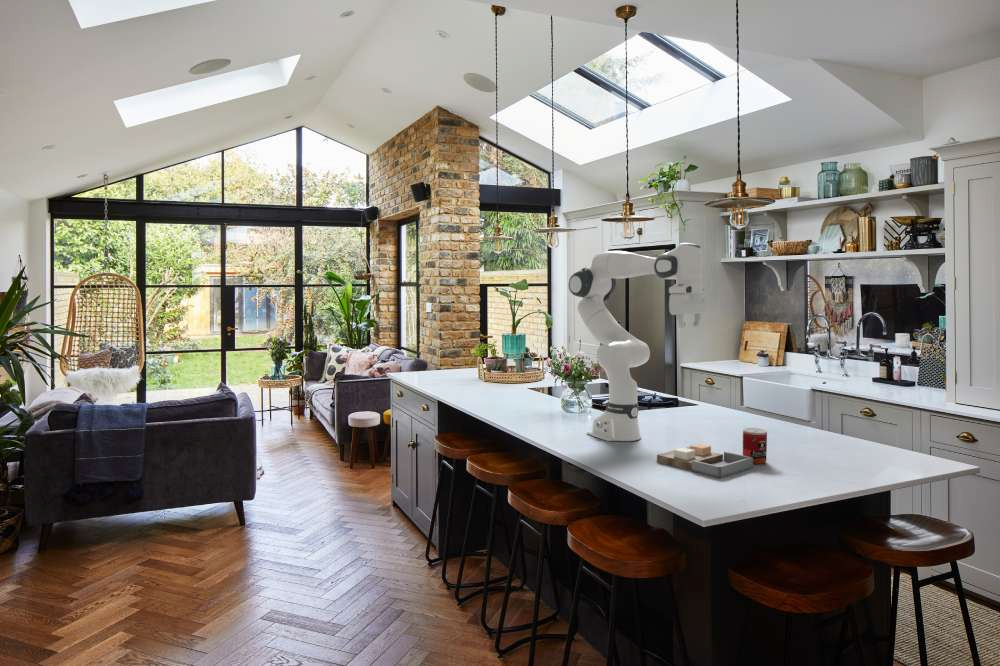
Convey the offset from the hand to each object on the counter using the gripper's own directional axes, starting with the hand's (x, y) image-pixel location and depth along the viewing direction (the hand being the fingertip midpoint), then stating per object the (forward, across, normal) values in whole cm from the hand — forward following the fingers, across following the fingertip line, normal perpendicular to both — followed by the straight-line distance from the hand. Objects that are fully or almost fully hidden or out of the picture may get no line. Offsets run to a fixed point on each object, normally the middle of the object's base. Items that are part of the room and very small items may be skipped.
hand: (689, 326), depth 236 cm
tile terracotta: (+43, +6, +9) cm, 45 cm away
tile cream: (+43, +15, +8) cm, 46 cm away
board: (+46, +10, +8) cm, 48 cm away
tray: (+46, +11, +20) cm, 51 cm away
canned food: (+46, -6, +23) cm, 52 cm away
